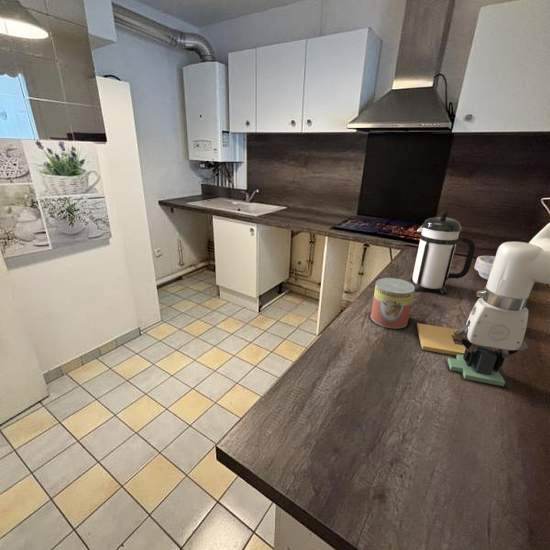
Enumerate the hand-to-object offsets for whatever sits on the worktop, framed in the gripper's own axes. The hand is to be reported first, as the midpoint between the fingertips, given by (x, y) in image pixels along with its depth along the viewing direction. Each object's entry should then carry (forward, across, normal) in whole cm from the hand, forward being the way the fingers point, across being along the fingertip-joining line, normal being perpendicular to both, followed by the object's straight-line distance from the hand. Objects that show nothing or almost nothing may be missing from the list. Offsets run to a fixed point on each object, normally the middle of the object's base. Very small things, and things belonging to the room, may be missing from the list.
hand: (480, 364), depth 70 cm
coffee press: (+2, -3, +50) cm, 50 cm away
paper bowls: (+2, +24, +68) cm, 72 cm away
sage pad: (+2, -1, 0) cm, 2 cm away
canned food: (+2, -20, +19) cm, 28 cm away
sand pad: (+2, -6, +11) cm, 13 cm away
